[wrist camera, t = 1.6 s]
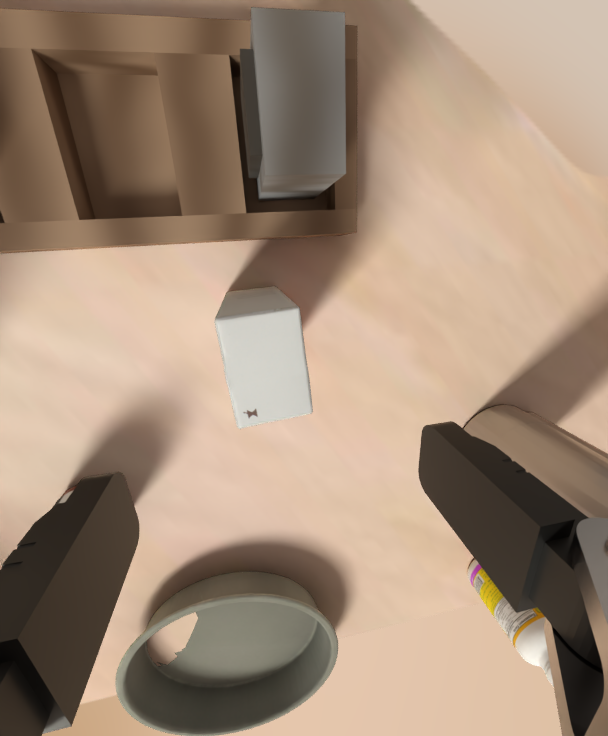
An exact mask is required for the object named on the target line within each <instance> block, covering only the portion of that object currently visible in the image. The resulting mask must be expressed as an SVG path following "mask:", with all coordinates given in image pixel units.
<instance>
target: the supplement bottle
mask: <svg viewBox="0 0 608 736" xmlns="http://www.w3.org/2000/svg"><path fill="white" fill-rule="evenodd" d="M468 578H469V581H470V582H471V584H472V585H473V587H474V588H475V590H476V591H477V593H478V594H479V596H480V597H481V599H482V600H483V602H484V603H485V604H486V606H487V607H488V609H489V610H490V612H491V613H492V615H493V616H494V618H495V619H496V620H497V622H498V623H499V625H500V626H501V628H502V629H503V631H504V632H505V634H506V635H507V636H508V638H509V639H510V641H511V642H512V644H513V645H514V647H515V648H516V650H517V651H518V652H519V654H520V655H521V656H522V658H524V660H526V661H527V662H528V663H530V664H533V665H535V666H541V667H542V668H543V669H544V671H545V674H546V676H547V679H548V680H549V682H550V683H551V684H552V686H553V687H554V685H553V679H552V674H551V668H550V662H549V656H548V651H547V645H546V639H545V633H544V623H545V619H546V617H545V616H544V615H543V614H542V613H541V611H540V610H539V609H538V608H533V609H529V610H526V611H522V612H518V613H516V612H515V611H514V609H513V608H512V607H511V605H510V604H509V603H508V601H507V600H506V599H505V598H504V596H503V595H502V594H501V592H500V591H499V590H498V588H497V587H496V586H495V584H494V583H493V582H492V580H491V579H490V578H489V576H488V575H487V574H486V572H485V571H484V570H483V568H482V567H481V566H480V564H479V563H478V562H477V560H476V559H474V560H473V562H472V563H471V564H470V566H469V569H468Z"/></svg>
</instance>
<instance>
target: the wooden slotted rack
mask: <svg viewBox="0 0 608 736" xmlns="http://www.w3.org/2000/svg"><path fill="white" fill-rule="evenodd" d="M356 232H357V26H352V25H345V12H329V11H311V10H292V9H274V8H256V7H251V21H249V20H229V19H208V18H187V17H167V16H146V15H126V14H105V13H84V12H64V11H43V10H23V9H2V8H0V253H17V252H35V251H54V250H73V249H92V248H110V247H129V246H148V245H167V244H186V243H204V242H223V241H242V240H261V239H279V238H298V237H317V236H336V235H346V234H351V233H356Z"/></svg>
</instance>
